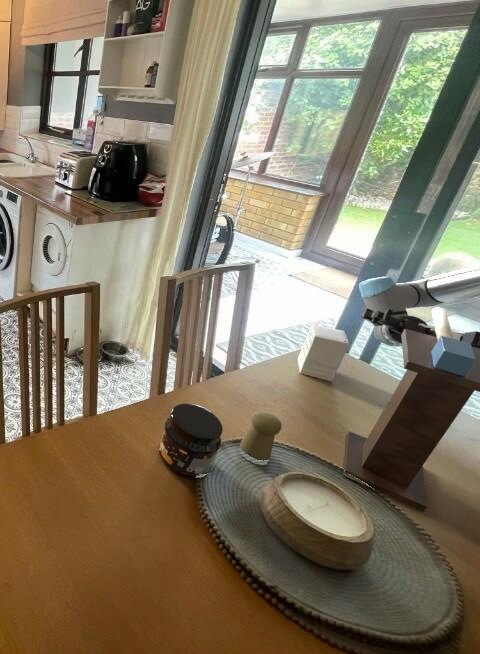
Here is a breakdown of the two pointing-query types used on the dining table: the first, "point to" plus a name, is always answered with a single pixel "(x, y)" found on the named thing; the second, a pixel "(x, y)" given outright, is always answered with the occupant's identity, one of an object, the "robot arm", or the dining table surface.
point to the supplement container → (190, 440)
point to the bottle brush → (450, 347)
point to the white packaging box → (322, 352)
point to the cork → (261, 435)
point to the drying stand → (411, 423)
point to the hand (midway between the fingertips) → (430, 326)
